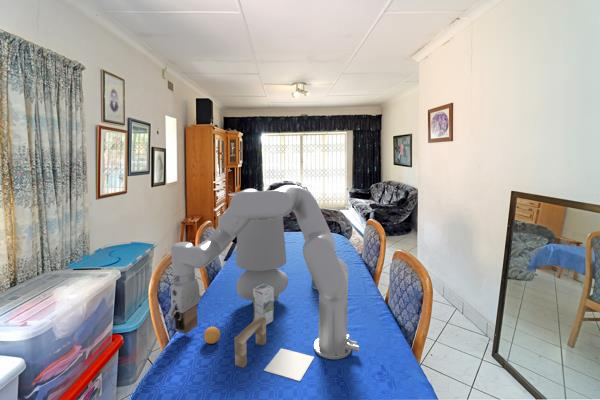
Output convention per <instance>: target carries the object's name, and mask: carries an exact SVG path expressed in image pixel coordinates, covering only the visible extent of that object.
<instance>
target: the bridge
mask: <svg viewBox="0 0 600 400" xmlns="http://www.w3.org/2000/svg"><path fill="white" fill-rule="evenodd" d="M254 334H255V344H256V345H260V346H264V345H265V344H266V343H267V325H266V318H263V317H259V316H258V317H257V318H256V319H255V320H254V319H253V321H252V322H251V323H250V324H248V325H247V326H246V327H245V328H244V329H243V330H242V331H240V332H239V333H238V335H236V336H235V337H234V339H233V340H234V341H233V342H234V364H235V365H234V366H237V367H240V368H245V367H246V366H247V364H248V359H247V358H248V356H247V355H248V353H247V352H248V351H247V348H248V347H247V341H248V340H249V338H251V337H252V336H253V335H254Z"/></svg>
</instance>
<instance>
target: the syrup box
mask: <svg viewBox="0 0 600 400" xmlns="http://www.w3.org/2000/svg"><path fill="white" fill-rule="evenodd" d="M274 302H275V300H274V288H273V287H271V286H269V285H267V284H262V285H259V286H257V287H255V288H253V302H252V303H253V304H252V305H253V306H252V307H253V314H252V315H253V321H254V320H255V319H256V318H257V317H258V316H259V317H263V318H266V326H268V325H269V324H271V323H273V322H274V318H275V317H274V313H275V312H274V309H275V307H274V306H275V305H274Z"/></svg>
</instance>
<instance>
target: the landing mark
mask: <svg viewBox="0 0 600 400" xmlns="http://www.w3.org/2000/svg"><path fill="white" fill-rule="evenodd" d="M314 359H315V356H313V355H308V354H305V353H301V352H299V351H298V352H297V351H294V350H289V349H286V348H282V347H281V348H280V349H279V351H277V353H276V354H275V355H274V356H273V358H272V359H271V360H270V362H269V363H268V364H267V365H266V367H265V368H264V369H263V372H267V373H271V374H274V375H278V376H280V377H284V378H287V379H291V380H294V381H297V382H301V380H302V379H303V377H304V375H306V372H307V371H308V369H309V367H310V365H312V362H313V360H314Z"/></svg>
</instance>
